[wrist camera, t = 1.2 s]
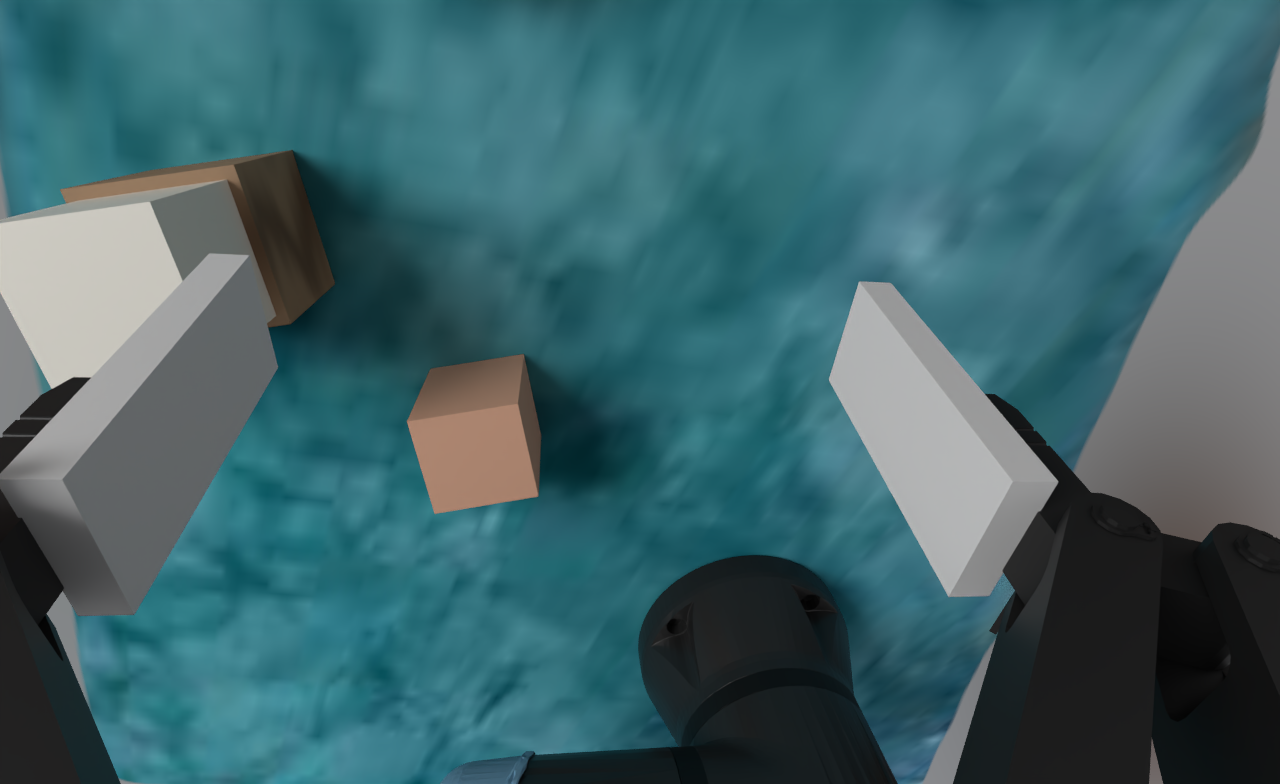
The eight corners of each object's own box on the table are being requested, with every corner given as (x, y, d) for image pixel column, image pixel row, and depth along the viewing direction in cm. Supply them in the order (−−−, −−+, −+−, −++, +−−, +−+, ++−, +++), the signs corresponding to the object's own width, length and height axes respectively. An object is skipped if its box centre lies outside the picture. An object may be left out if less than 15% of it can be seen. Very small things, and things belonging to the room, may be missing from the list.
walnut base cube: (335, 283, 38) (290, 324, 31) (205, 303, 37) (134, 348, 31) (292, 150, 35) (233, 164, 28) (151, 170, 35) (60, 189, 28)
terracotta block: (541, 435, 43) (538, 496, 37) (452, 449, 43) (434, 513, 36) (523, 353, 41) (517, 403, 34) (430, 368, 40) (406, 421, 34)
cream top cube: (276, 315, 31) (217, 364, 26) (141, 336, 31) (52, 390, 25) (226, 179, 29) (149, 201, 23) (78, 200, 28) (-34, 228, 23)
